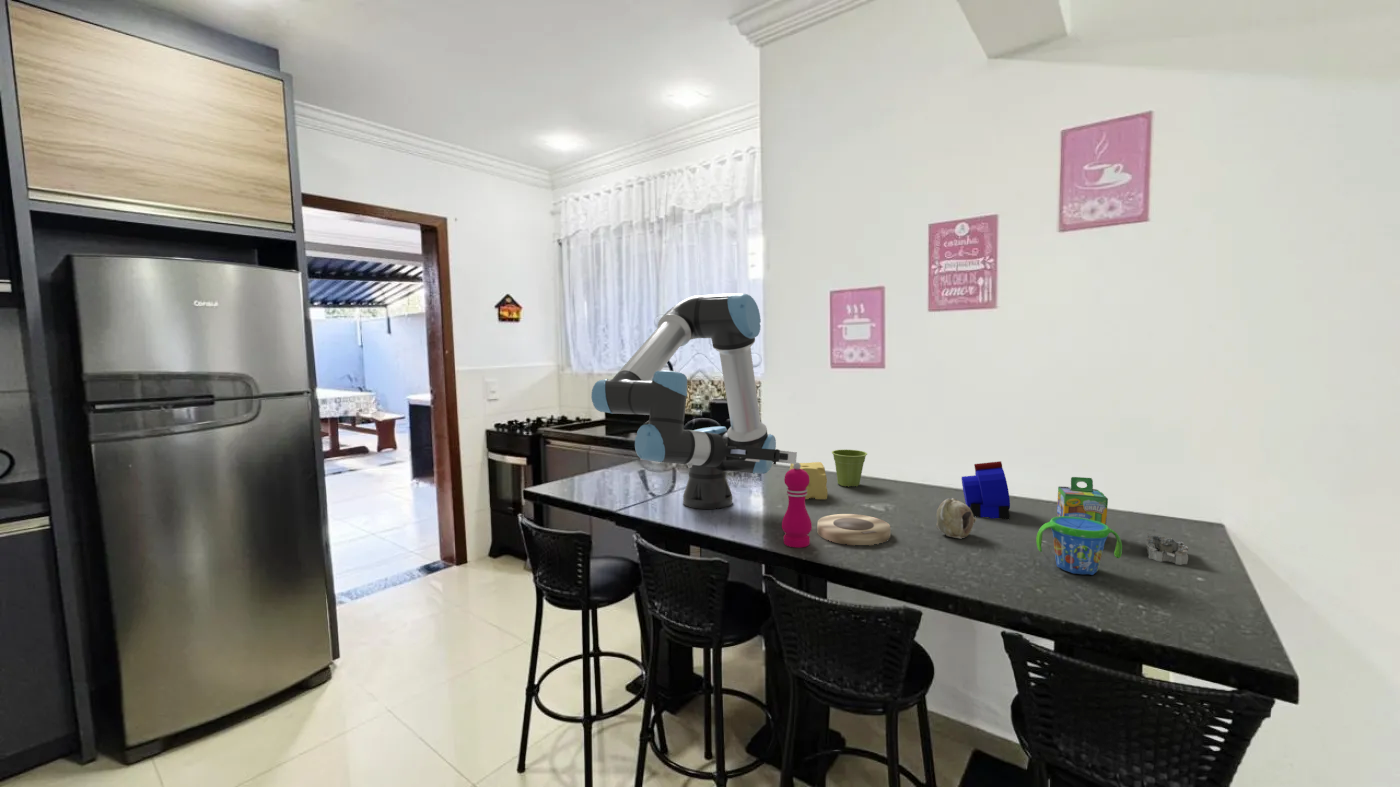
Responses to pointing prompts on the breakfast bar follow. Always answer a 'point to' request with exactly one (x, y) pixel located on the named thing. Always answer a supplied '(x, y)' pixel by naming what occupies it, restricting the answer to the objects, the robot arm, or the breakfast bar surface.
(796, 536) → the pepper mill
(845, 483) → the plant pot
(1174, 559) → the egg carton
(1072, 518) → the snack cup
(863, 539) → the oak base
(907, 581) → the breakfast bar surface
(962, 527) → the sea shell
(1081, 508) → the chalk box
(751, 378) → the robot arm
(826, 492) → the cheese
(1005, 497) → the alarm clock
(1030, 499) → the breakfast bar surface
